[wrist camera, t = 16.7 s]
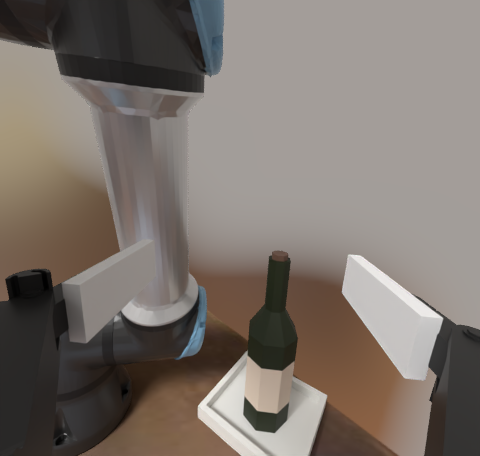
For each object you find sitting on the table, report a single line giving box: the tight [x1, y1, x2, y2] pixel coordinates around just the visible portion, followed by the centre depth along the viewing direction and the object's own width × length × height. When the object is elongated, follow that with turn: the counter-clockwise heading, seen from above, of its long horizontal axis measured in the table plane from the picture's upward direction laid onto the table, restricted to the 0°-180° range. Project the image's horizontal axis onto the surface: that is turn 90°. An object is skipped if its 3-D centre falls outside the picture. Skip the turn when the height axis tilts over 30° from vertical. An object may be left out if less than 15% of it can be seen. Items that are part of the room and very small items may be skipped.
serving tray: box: [198, 351, 327, 456], centre depth 40 cm, size 18×16×2 cm
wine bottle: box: [243, 251, 298, 433], centre depth 37 cm, size 8×8×30 cm
